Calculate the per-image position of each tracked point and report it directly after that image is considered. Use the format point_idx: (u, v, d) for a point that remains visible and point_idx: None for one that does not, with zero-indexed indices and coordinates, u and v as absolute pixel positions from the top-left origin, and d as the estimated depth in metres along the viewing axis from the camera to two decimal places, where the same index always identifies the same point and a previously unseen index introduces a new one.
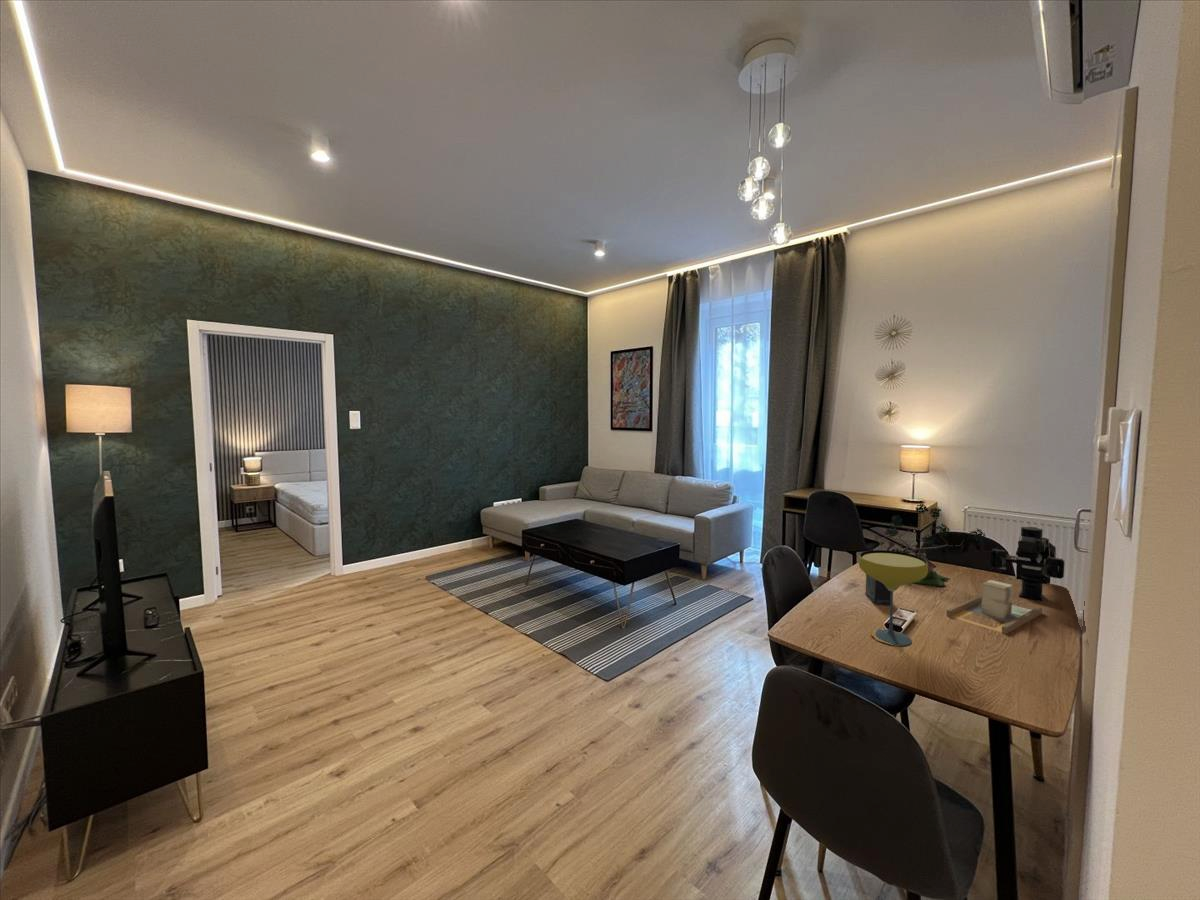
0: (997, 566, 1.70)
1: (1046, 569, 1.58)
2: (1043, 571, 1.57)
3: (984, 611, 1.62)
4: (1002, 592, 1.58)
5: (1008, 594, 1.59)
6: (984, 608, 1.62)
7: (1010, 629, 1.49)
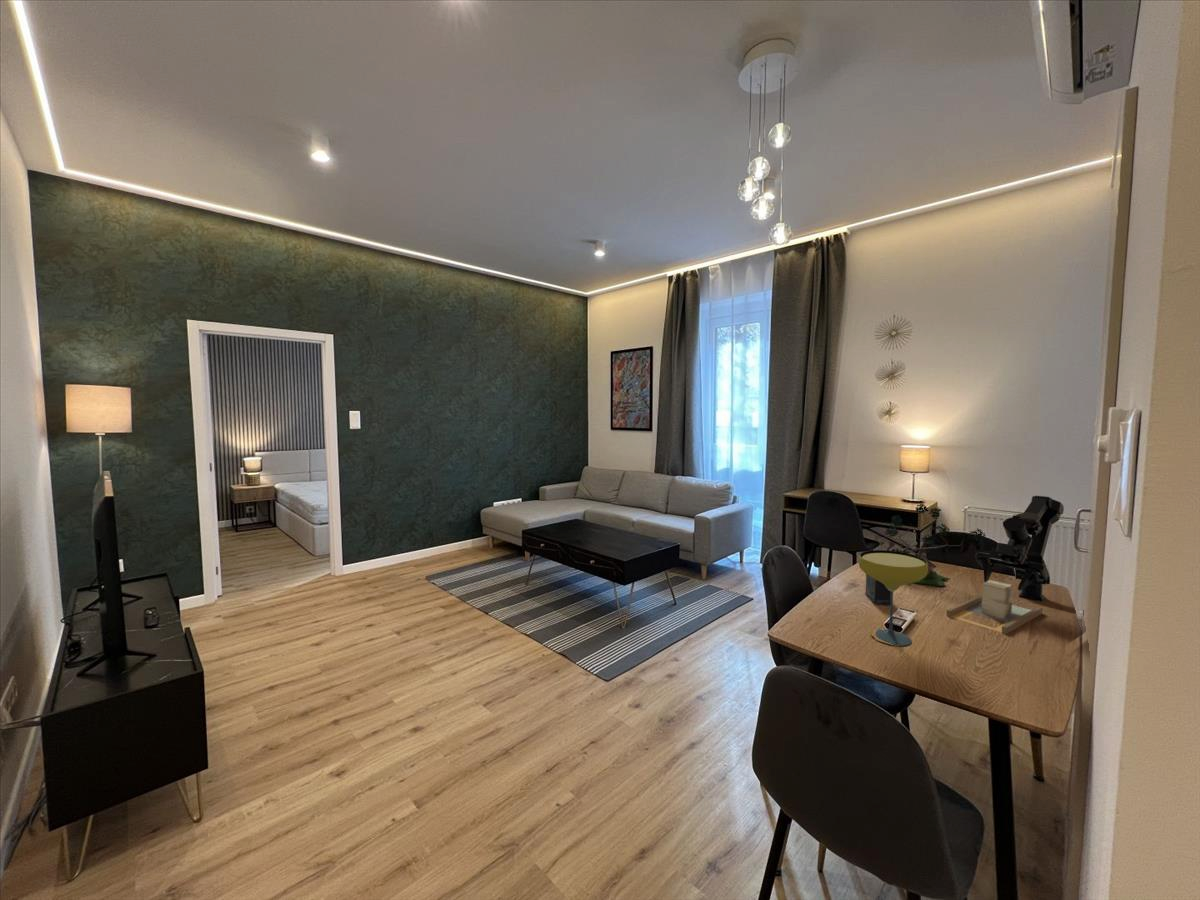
0: None
1: (1025, 583, 1.59)
2: (1021, 587, 1.59)
3: (984, 611, 1.62)
4: (1002, 592, 1.58)
5: (1008, 594, 1.59)
6: (984, 608, 1.62)
7: (1010, 629, 1.49)
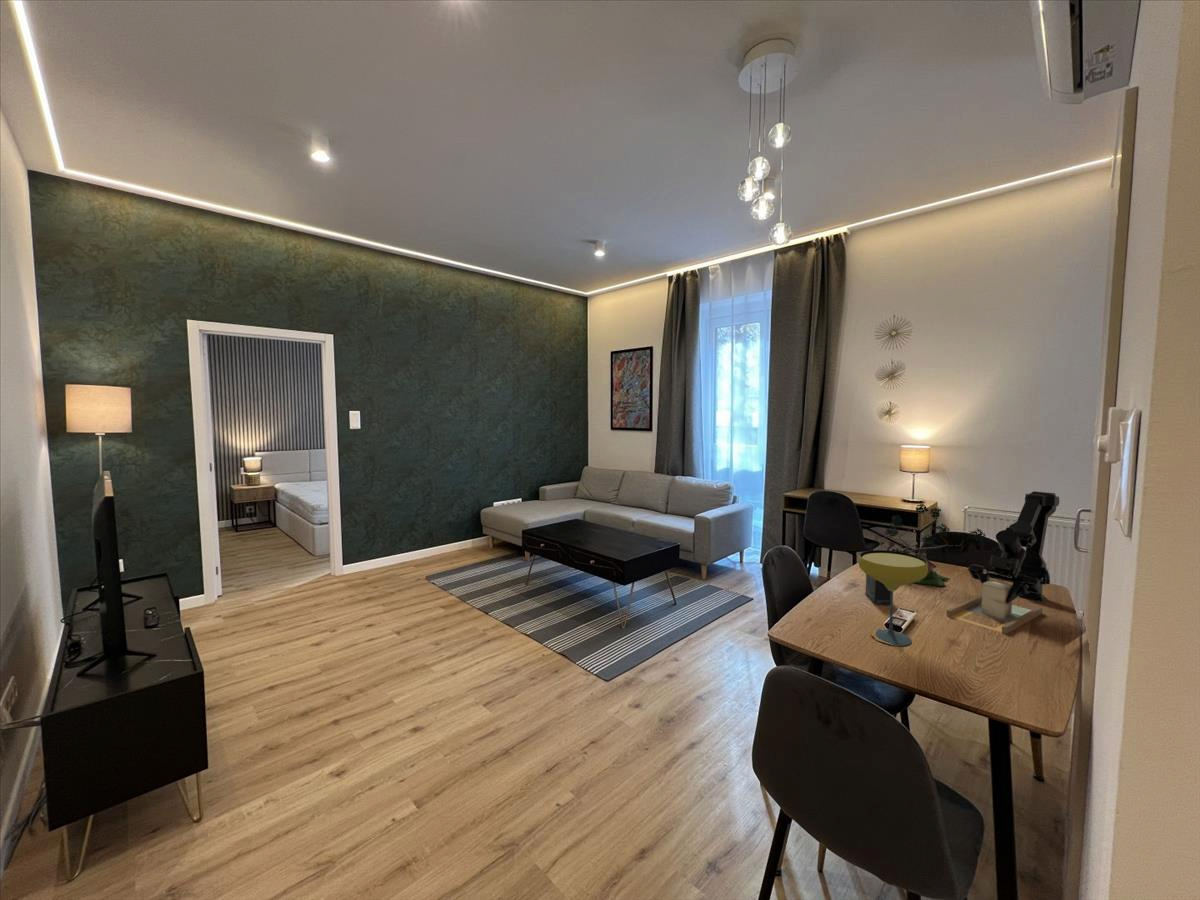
0: None
1: (1013, 595, 1.58)
2: (1009, 600, 1.58)
3: (984, 611, 1.62)
4: (1002, 592, 1.58)
5: None
6: (984, 608, 1.62)
7: (1010, 629, 1.49)
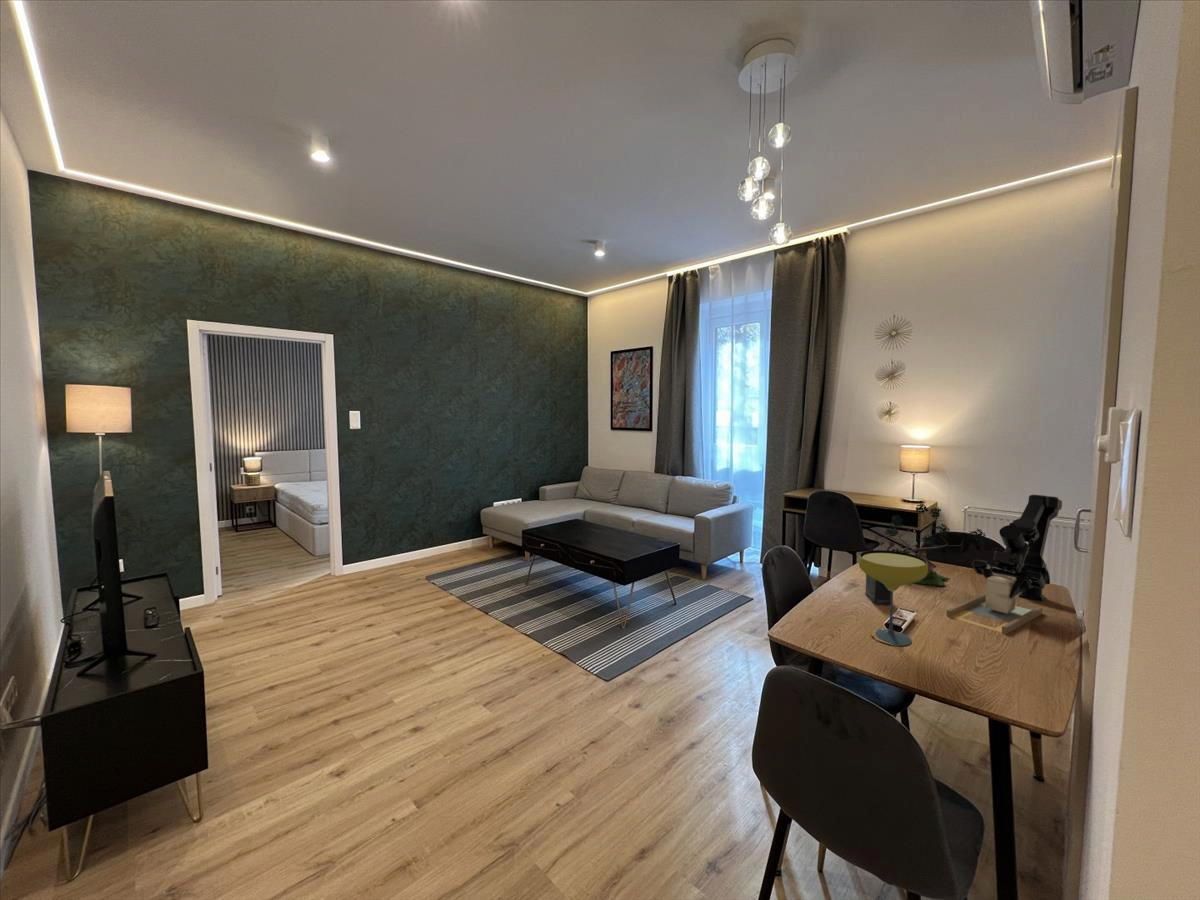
0: None
1: (1016, 590, 1.59)
2: (1013, 595, 1.59)
3: (988, 606, 1.64)
4: (1006, 587, 1.59)
5: (1011, 589, 1.60)
6: (988, 603, 1.64)
7: (1010, 629, 1.49)
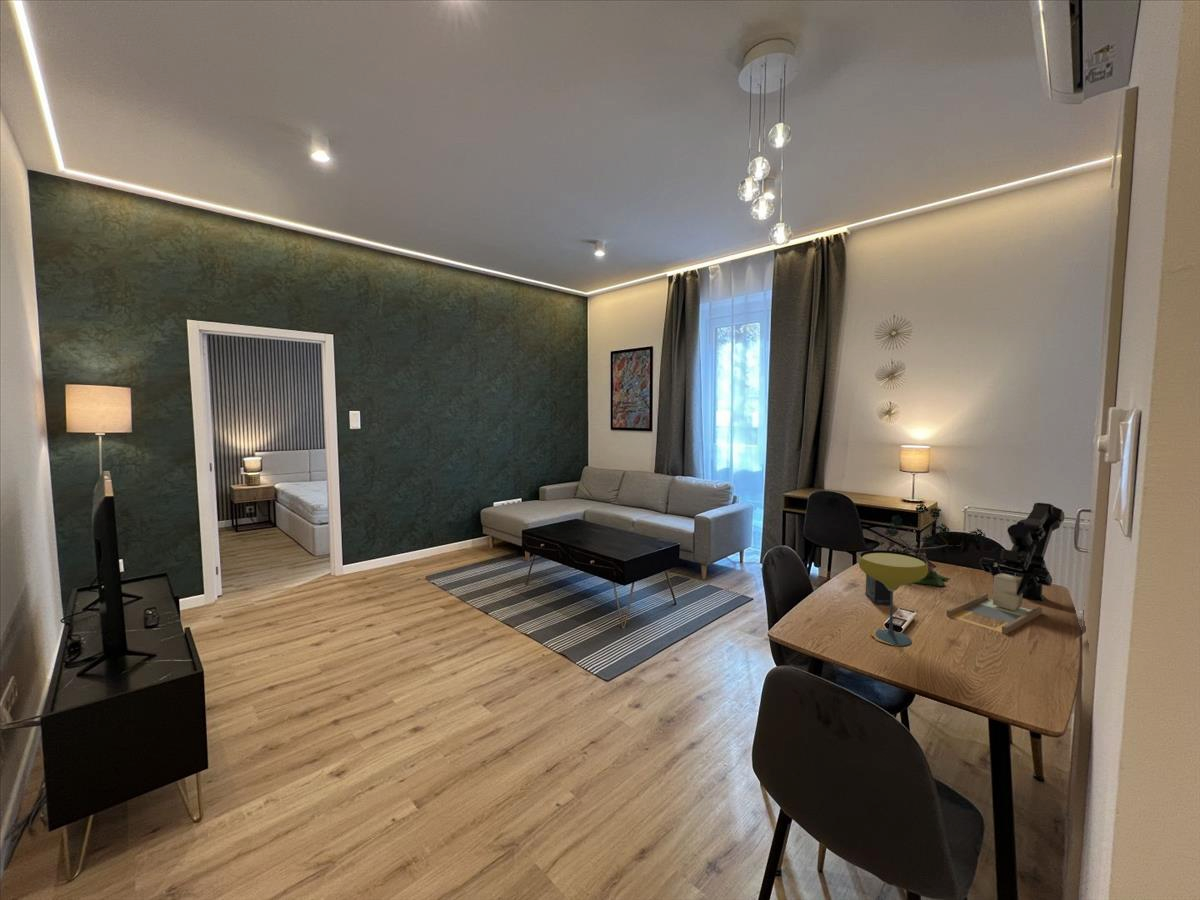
0: None
1: (1023, 588, 1.62)
2: (1020, 592, 1.62)
3: (995, 603, 1.66)
4: (1013, 584, 1.62)
5: None
6: (995, 600, 1.66)
7: (1010, 629, 1.49)
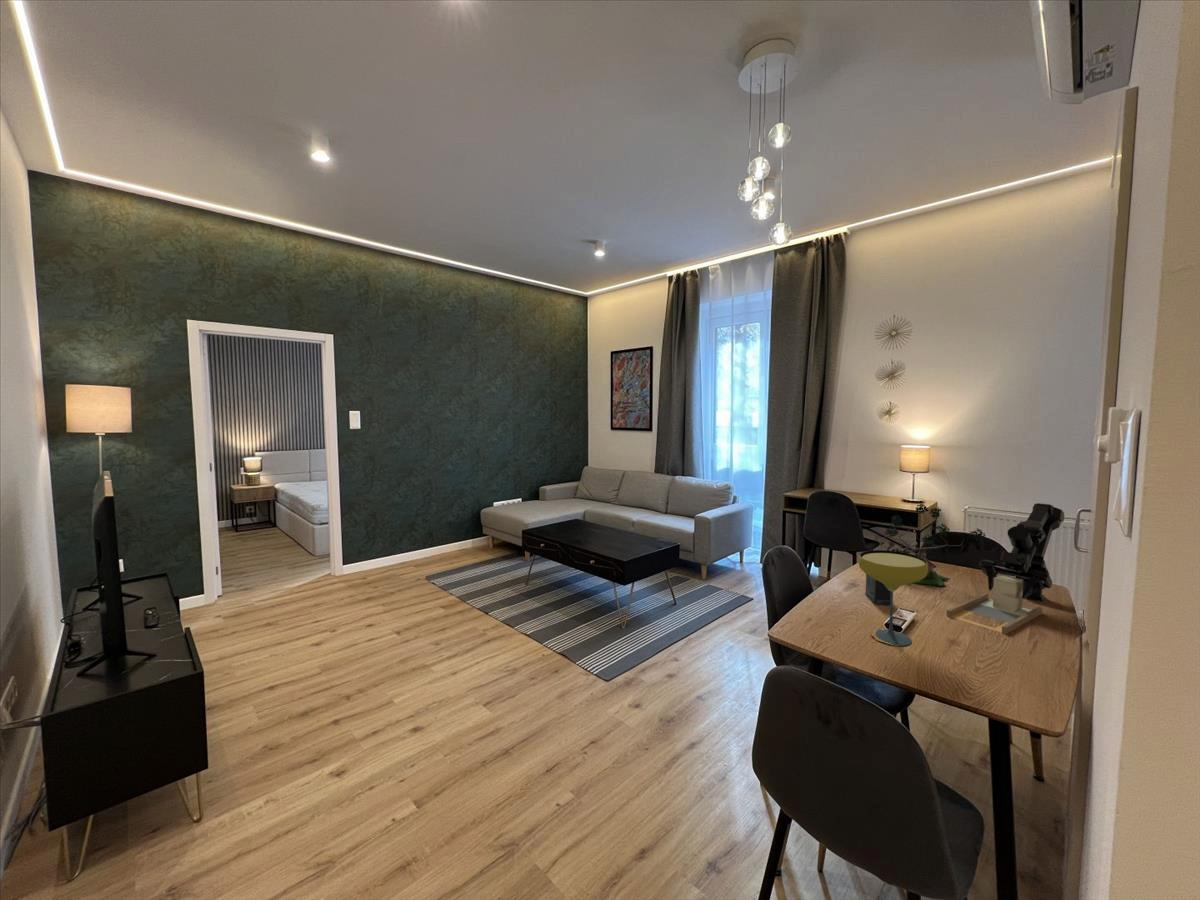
0: None
1: (1029, 591, 1.61)
2: (1025, 596, 1.61)
3: (995, 605, 1.66)
4: (1013, 586, 1.62)
5: (1019, 588, 1.63)
6: (995, 602, 1.66)
7: (1010, 629, 1.49)
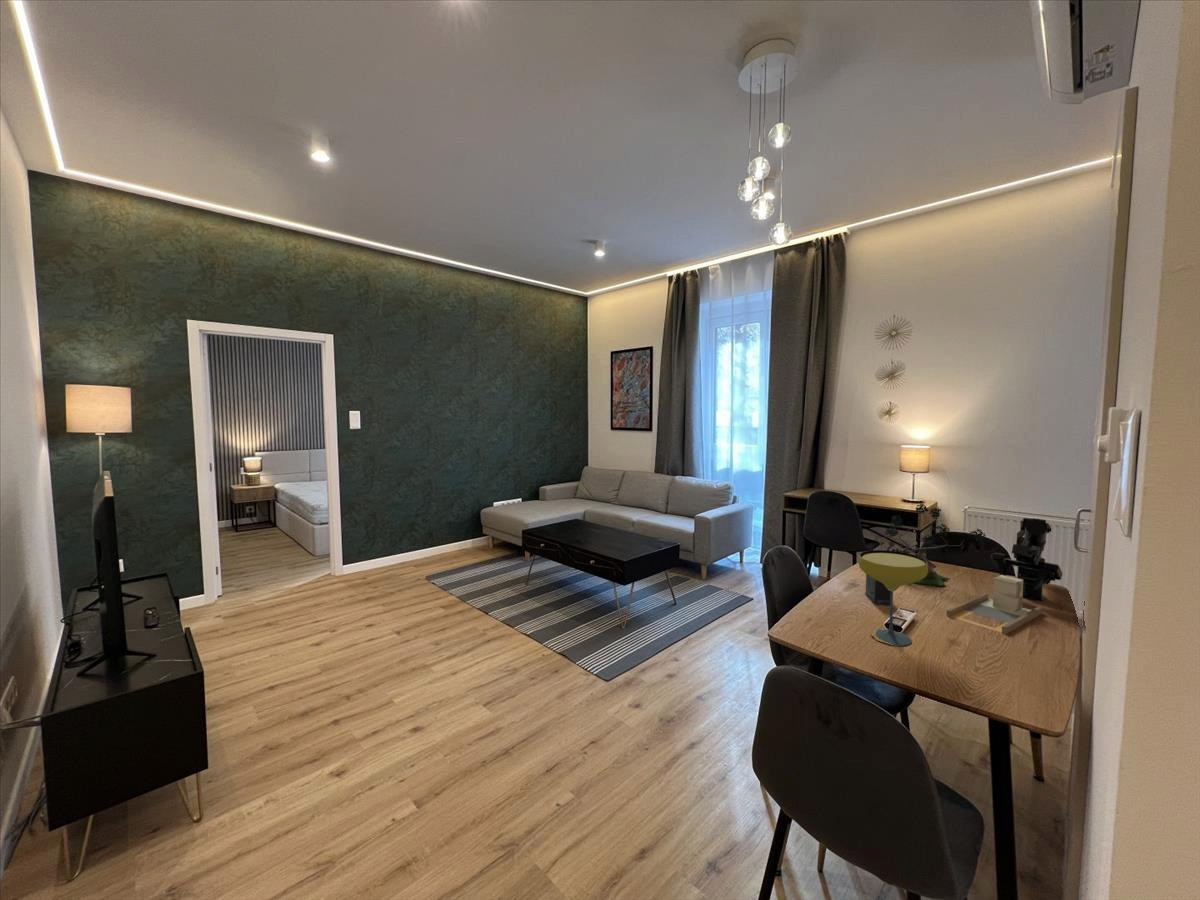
0: None
1: (1039, 582, 1.65)
2: (1036, 587, 1.65)
3: (995, 605, 1.66)
4: (1013, 586, 1.62)
5: (1019, 588, 1.63)
6: (995, 602, 1.66)
7: (1010, 629, 1.49)
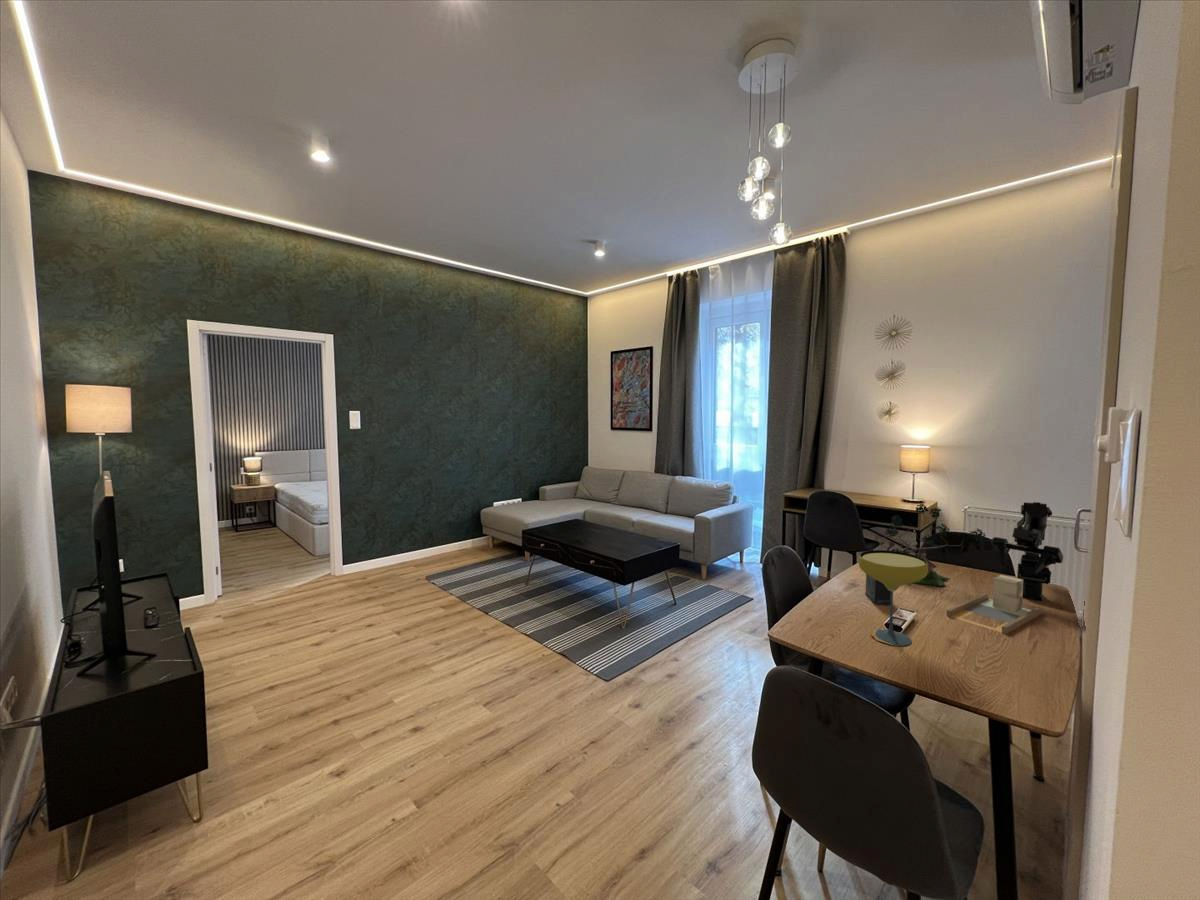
0: (1000, 553, 1.78)
1: (1040, 566, 1.65)
2: (1037, 570, 1.65)
3: (995, 605, 1.66)
4: (1013, 586, 1.62)
5: (1019, 588, 1.63)
6: (995, 602, 1.66)
7: (1010, 629, 1.49)
